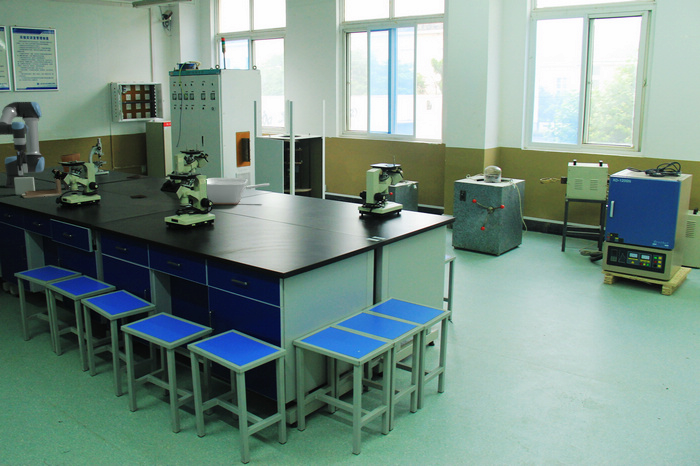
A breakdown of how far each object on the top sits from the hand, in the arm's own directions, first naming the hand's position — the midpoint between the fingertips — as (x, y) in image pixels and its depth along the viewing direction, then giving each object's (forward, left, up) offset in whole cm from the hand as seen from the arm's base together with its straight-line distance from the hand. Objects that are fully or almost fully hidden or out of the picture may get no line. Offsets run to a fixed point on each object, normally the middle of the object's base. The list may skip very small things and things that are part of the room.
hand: (23, 174), depth 427 cm
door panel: (0, 0, -15) cm, 15 cm away
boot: (-10, +39, -15) cm, 43 cm away
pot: (+106, +116, -15) cm, 158 cm away
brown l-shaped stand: (+10, +9, -15) cm, 20 cm away
